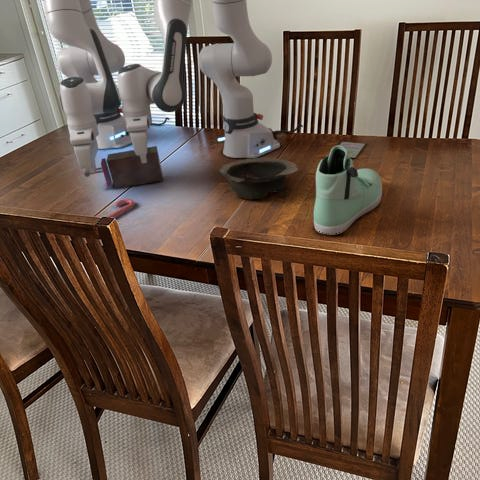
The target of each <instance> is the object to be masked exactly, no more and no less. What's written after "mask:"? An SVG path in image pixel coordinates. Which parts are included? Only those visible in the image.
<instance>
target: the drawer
mask: <svg viewBox="0 0 480 480" xmlns="http://www.w3.org/2000/svg"><path fill="white" fill-rule="evenodd" d="M84 170H85V171H84V177H87V178H88V177H90V175H95V174H102V173H103V177H104V181H105V183H106V186H107V187H108V188H109V187H110V188H111V187H112V184H113V181H112V178H111V174H110V171H109V167H108V164H107V158H101V161H100V167H96V172H95V173H90V170H89V168H86V169H84Z"/></svg>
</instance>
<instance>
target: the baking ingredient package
mask: <svg viewBox="0 0 480 480" xmlns="http://www.w3.org/2000/svg"><path fill="white" fill-rule="evenodd" d="M338 146H342V147H344V148H345V149H346V150H347V152H348V153H349V156H350V158H356V157H357V156H358V155H359V153H360V152H361V151H362V149H363V148H364V147H365V146H366V143H359V142H348V141H342V142H340V144H339V145H338Z"/></svg>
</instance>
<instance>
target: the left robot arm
mask: <svg viewBox="0 0 480 480" xmlns="http://www.w3.org/2000/svg"><path fill="white" fill-rule="evenodd" d="M42 1H43V8H44V14H45V18H46V23H47V28H48V30H49V32H50V34H51V35H52V37H53V38H54V39H55V40H57V41H58V42H60V43H62V44H64V45H67V46H68V47H66V48H65V47H64V48H62V49H60V50H59V51H58V53H57V55H56V66H57V68H58V70H59V71H60V72H61V73H62V74H63V75H64V76H65V77H66V78H63V80H61V81H60V83H59V93H60V94H59V101H60V106H61V109H62V111H63V112H64V114H65V116H66V124H67V128H68V133H69V142H70V145H71V146H73V150H74V154H75V157H76V159H77V163H78V165H79V167H80V168H81V169H83V170H86V168H89V170H90V173H95V172H96V171H97V170H96V168H97V167H96V157H97V154H98V151H99V150H107V149H121V148H122V149H123V148H124V147H127V146H128V145H131V144H132V140H131V136H130V132H128V131H127V127H126V126H125V123H124V117H123V115H122V114H123V112H122V107H121V106H122V101H121V99H120V95H119V89H118V84H117V83H116V82H115V79H114V77H113V74H116V73H118V72H119V71H120V69H122V68H123V67H125V65H126V57H125V53H124V51H123V50H122V48H121V47H120V46H119V45H118V44H116V43H113V42H112V41H111V40H110V39H108V38H107V37H106V36H105V35H104V34H103V32H102V30H101V29H100V27H99V25H98V23H97V19H96V17H95V13H94V9H93V6H92V2H91V0H42ZM95 76H99V78H100V80H99V81H98V80H97V78H96V77H95ZM167 120H169V121H170V120H171V119H170V118H169V117H165V119H164V121H163V122H159V123H155V122H152V123H151V124H150V125H149V126H151V125H153V126H163V125H165V124H166V123H167Z"/></svg>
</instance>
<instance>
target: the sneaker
mask: <svg viewBox="0 0 480 480" xmlns="http://www.w3.org/2000/svg"><path fill="white" fill-rule="evenodd" d="M317 165H318V166H317V168H316V172H315V201H314V207H313V225H314V229H315V231H316V232H318V233H320V234H323V235H326V236H327V235H328V236H336V235H339V234H342V233H344V232H345V231H347V230H348V229H349V228H350V227H351V226H352V225H353V224H354V222H356V221H357V220H358V219H359V218H360V217H362V216H363V215H365V214H367V213H370V212H372V210H374V209H375V208H377V207H378V205H380V203H381V200H382V196H383V184H382V183H383V182H382V179H381V176H380V175H379V173H378V172H377V171H376V170H374V169H372V168H367V167H365V168H358V169H357V168H355V167H354V161H353V159H352V158H351V157H350V156H349V153H348V152H347V150H346V149H345V148H344V147H342V146H339V145H334V146H333V147H331V149H330V151H329V154H327V155H326V156H325V157H324V158H322V159H321V160H320V161H319V163H318V164H317ZM343 230H344V231H343ZM319 231H320V232H319ZM322 232H323V233H322ZM339 232H340V233H339ZM326 233H327V234H326ZM328 233H329V234H328ZM335 233H337V234H335Z"/></svg>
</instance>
